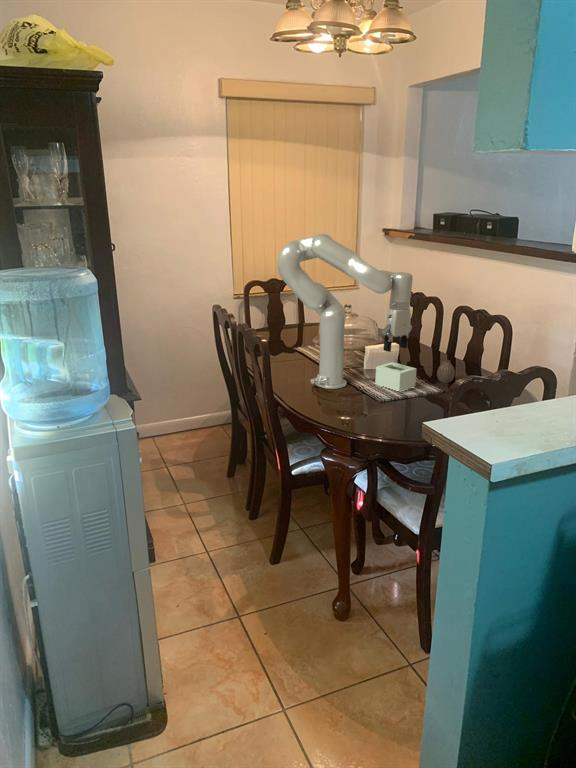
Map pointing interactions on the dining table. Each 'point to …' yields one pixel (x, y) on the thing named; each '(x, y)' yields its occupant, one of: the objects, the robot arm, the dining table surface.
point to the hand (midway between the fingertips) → (395, 349)
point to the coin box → (395, 376)
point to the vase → (446, 372)
